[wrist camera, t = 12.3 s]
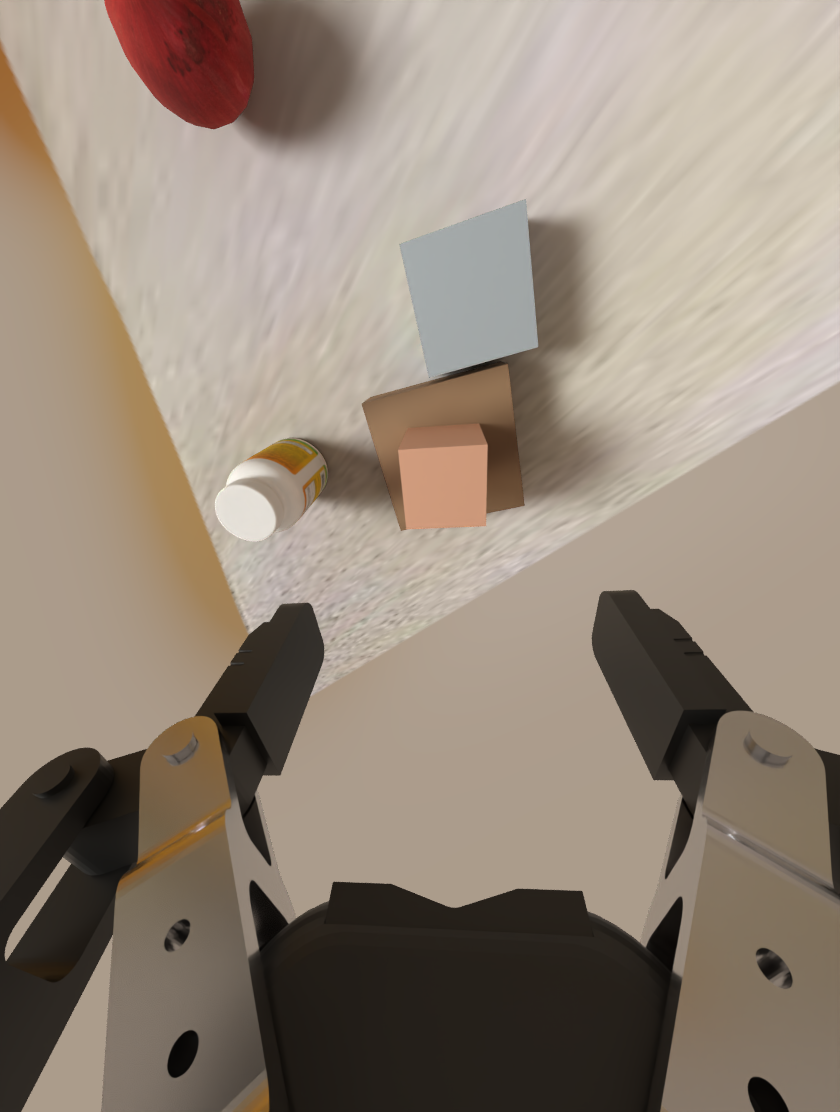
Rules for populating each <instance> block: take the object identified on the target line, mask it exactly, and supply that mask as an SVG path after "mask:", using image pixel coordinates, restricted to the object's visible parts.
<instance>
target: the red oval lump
mask: <svg viewBox="0 0 840 1112" xmlns="http://www.w3.org/2000/svg"><path fill="white" fill-rule="evenodd" d="M104 1H105V6H106V10H107V13H108V16H109V18H110V21H111V23H112V25H113V28H114V30H115V32H116V35H117V37H118V39H119V42H120V44H121V46H122V49H123V51H124V53H125V55H126V57H127V59H128V60H129V62H130V64H131V66H132V67H133V68H134V70H135V71H136V72H137V74H138V75H139V77H140V78H141V79H142V81H143V82H144V83H145V85H146V86H147V87H148V89H149V90H150V91H151V93H152V94H153V96H154V97H155V98H156V99H157V100H158V101H159V102H160V103H161V104H162V105H163V106H164V107H166V108H167V109H169V110H170V111H172V112H173V113H174V114H176V115H177V116H179V117H180V118H182V119H183V120H184V121H186V122H188V123H191V124H193V125H196V126H201V127H205V128H210V129H216V128H219V127H222V126H225V125H227V124H230V123H232V122H234V121H235V120H236V119H237V117H238V116H239V115H240V114H241V113H242V111H243V110H244V109H245V108H246V107H247V103H248V100H249V96H250V93H251V89H252V86H253V83H254V65H253V46H252V37H251V34H250V31H249V28H248V25H247V22H246V19H245V16H244V13H243V11H242V8H241V5H240V2H239V0H104Z"/></svg>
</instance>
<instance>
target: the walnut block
mask: <svg viewBox="0 0 840 1112" xmlns="http://www.w3.org/2000/svg"><path fill="white" fill-rule="evenodd" d="M362 407H363V410H364V413H365V416H366V420H367V423H368V426H369V429H370V433H371V436H372V439H373V442H374V446H375V449H376V452H377V455H378V458H379V462H380V465H381V468H382V471H383V475H384V478H385V481H386V484H387V487H388V491H389V494H390V497H391V500H392V504H393V507H394V510H395V513H396V516H397V520H398V523H399V526H400V529H401V531H402V530H407V529H406V522H405V512H404V503H403V493H402V483H401V474H400V464H399V454H398V449H399V447H400V444H401V442H402V440H403V437H404V435H405V433H406V430H407V428H415V427H430V426H446V425H461V424H477V423H479V425H480V427H481V430H482V432H483V434H484V437H485V439H486V442H487V444H488V450H487V498H486V513H490V512H495V511H500V510H505V509H510V508H515V507H520V506H525V505H524V497H523V488H522V480H521V471H520V463H519V454H518V446H517V437H516V429H515V420H514V412H513V403H512V395H511V386H510V378H509V369H508V364H507V363H504V362H501V361H500V362H497V363H493V364H489V365H486V366H482V367H478V368H475V369H471V370H468V371H464V372H460V373H457V374H453V375H449V376H446V377H442V378H438V379H435V380H431V381H428V382H424V383H420V384H417V385H413V386H409V387H406V388H402V389H399V390H395V391H391V392H388V393H384V394H380V395H377V396H373V397H370V398H369V399H368V400H366V401H365V402H364V403H362Z"/></svg>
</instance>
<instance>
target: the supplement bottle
mask: <svg viewBox="0 0 840 1112" xmlns="http://www.w3.org/2000/svg"><path fill="white" fill-rule="evenodd" d="M327 480H328V468H327V464H326V462H325V459H324V458H323V456H322V455H321V453H320V452H319V451H318V450H317V449H316V448H315V447H314V446H313V445H311V444H310V443H308V442H306V441H304V440H301V439H297V438H287V439H282V440H280V441H278V442H276V443H274V444H272V445H270V446H269V447H267V448H266V449H264V450H262V451H261V452H259V453H257V454H255V455H253V456H252V457H250V458H249V459H247V460H245V461H244V462H242V463H241V464H239V465H238V466H237V467H236V468H235V469H234V470H233V471H232V472H231V474H230V476H229V477H228V480H227V484H226V487H225V488H223V489H222V490H221V491H220V492H219V494H218V495H217V497H216V501H215V510H216V514H217V517H218V519H219V521H220V522H221V524H222V525H223V526H224V527H225V528H226V529H227V530H228V531H229V532H230V533H231V534H233V535H234V536H236V537H238V538H240V539H243V540H247V541H261V540H264V539H267V538H268V537H270V536H271V535H272V534H273V533H276V532H281V531H284V530H287V529H289V528H290V527H292V526H293V525H294V524H295V523H296V522H297V521H298V520H299V519H300V518H301V517H302V515H303V514H304V513H305V512H306V510H307V509H308V508H309V507H310V506H311V504H312V503H313V502H314V501H315V500H316V498H317V497H318V496H319V495H320V493H321V492H322V491H323V489H324V488H325V486H326V483H327Z"/></svg>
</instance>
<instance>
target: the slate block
mask: <svg viewBox="0 0 840 1112" xmlns="http://www.w3.org/2000/svg"><path fill="white" fill-rule="evenodd" d="M400 249H401V253H402V258H403V262H404V267H405V271H406V276H407V281H408V285H409V290H410V294H411V299H412V303H413V308H414V312H415V317H416V321H417V326H418V330H419V335H420V339H421V344H422V348H423V353H424V357H425V362H426V366H427V371H428V375H429V378H430V377H434V376H438V375H441V374H445V373H448V372H452V371H455V370H459V369H462V368H466V367H469V366H473V365H476V364H480V363H484V362H487V361H491V360H494V359H498V358H501V357H505V356H508V355H512V354H515V353H519V352H523V351H526V350H530V349H533V348H537V347H538V338H537V326H536V314H535V302H534V290H533V278H532V266H531V254H530V242H529V230H528V218H527V206H526V199H525V200H522V201H519V202H516V203H513V204H510V205H508V206H505V207H502V208H499V209H496V210H494V211H491V212H488V213H485V214H482V215H480V216H477V217H474V218H471V219H468V220H466V221H463V222H460V223H457V224H454V225H452V226H449V227H446V228H443V229H440V230H438V231H435V232H432V233H429V234H426V235H424V236H421V237H418V238H415V239H412V240H409V241H407V242H404V243H401V244H400Z"/></svg>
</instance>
